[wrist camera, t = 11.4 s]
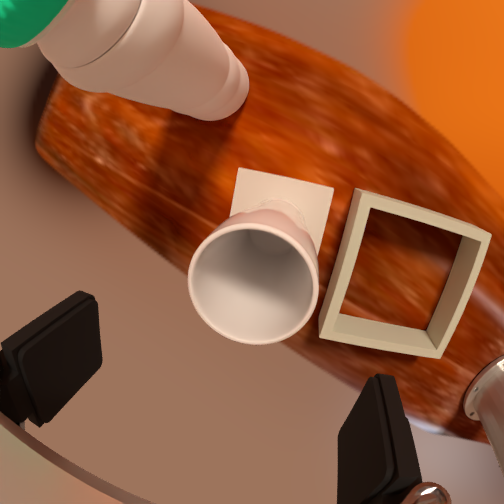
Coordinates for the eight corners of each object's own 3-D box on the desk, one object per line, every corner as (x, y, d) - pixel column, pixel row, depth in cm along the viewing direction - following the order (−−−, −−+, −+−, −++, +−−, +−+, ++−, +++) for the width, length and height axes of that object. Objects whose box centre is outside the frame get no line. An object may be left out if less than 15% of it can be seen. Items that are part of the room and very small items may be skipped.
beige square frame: (473, 224, 26) (491, 234, 23) (429, 339, 31) (439, 358, 27) (354, 187, 28) (361, 192, 24) (318, 317, 32) (319, 337, 29)
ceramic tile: (333, 187, 28) (334, 188, 27) (311, 275, 31) (311, 278, 30) (240, 167, 29) (238, 167, 28) (224, 254, 32) (223, 257, 31)
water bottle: (168, 88, 28) (-58, 27, 4) (220, 43, 25) (50, -110, 2) (209, 136, 29) (-38, 119, 5) (265, 90, 26) (122, -89, 3)
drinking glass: (245, 259, 31) (196, 345, 17) (238, 191, 29) (175, 225, 15) (314, 257, 30) (319, 347, 16) (311, 187, 28) (319, 218, 14)
